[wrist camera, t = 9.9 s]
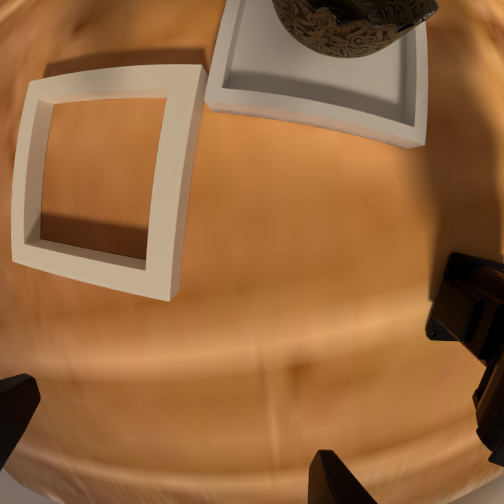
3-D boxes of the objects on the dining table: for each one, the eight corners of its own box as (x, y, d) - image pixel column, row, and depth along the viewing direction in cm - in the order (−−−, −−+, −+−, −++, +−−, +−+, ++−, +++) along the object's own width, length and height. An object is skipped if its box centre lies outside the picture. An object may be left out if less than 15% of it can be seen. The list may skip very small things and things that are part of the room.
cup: (258, -4, 14) (249, -88, 6) (367, -4, 13) (405, -74, 5) (274, 91, 15) (275, 20, 7) (394, 89, 15) (464, 39, 7)
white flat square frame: (208, 76, 16) (202, 64, 14) (179, 290, 19) (169, 301, 17) (45, 87, 16) (29, 81, 14) (28, 255, 19) (12, 261, 17)
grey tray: (408, 4, 13) (421, -12, 11) (406, 149, 16) (425, 145, 14) (244, -30, 14) (241, -51, 11) (212, 111, 16) (203, 100, 14)
